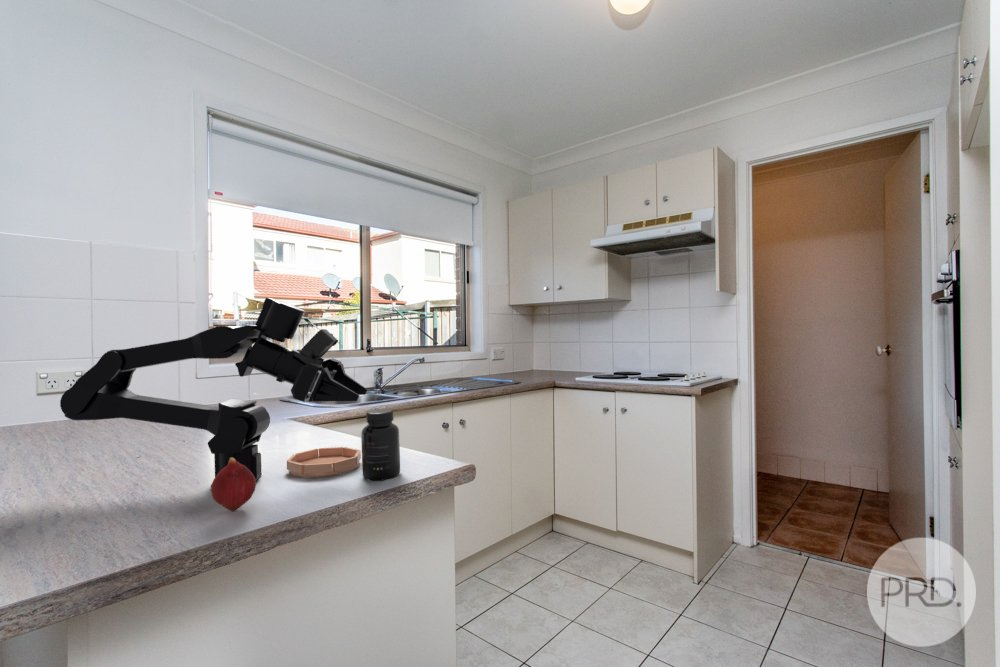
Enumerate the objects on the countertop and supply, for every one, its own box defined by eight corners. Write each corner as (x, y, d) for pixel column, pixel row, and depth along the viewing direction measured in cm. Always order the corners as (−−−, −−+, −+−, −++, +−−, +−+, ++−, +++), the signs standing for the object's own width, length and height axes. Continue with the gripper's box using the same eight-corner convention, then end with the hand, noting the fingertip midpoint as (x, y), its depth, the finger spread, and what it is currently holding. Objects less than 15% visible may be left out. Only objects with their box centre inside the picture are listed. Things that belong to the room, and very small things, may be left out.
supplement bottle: (366, 471, 91) (364, 408, 91) (402, 469, 91) (401, 407, 91) (358, 482, 84) (357, 414, 84) (397, 480, 85) (396, 413, 85)
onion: (264, 503, 74) (262, 452, 74) (240, 518, 68) (239, 463, 68) (229, 503, 75) (228, 452, 75) (202, 517, 69) (201, 463, 69)
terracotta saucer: (280, 479, 86) (280, 466, 86) (299, 460, 99) (298, 449, 99) (354, 475, 88) (354, 462, 88) (363, 456, 101) (363, 445, 101)
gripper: (282, 320, 78) (372, 357, 79) (313, 323, 96) (385, 353, 98) (254, 383, 77) (345, 419, 79) (290, 374, 95) (363, 403, 97)
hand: (362, 395), depth 88 cm, fingers open, 9 cm apart
